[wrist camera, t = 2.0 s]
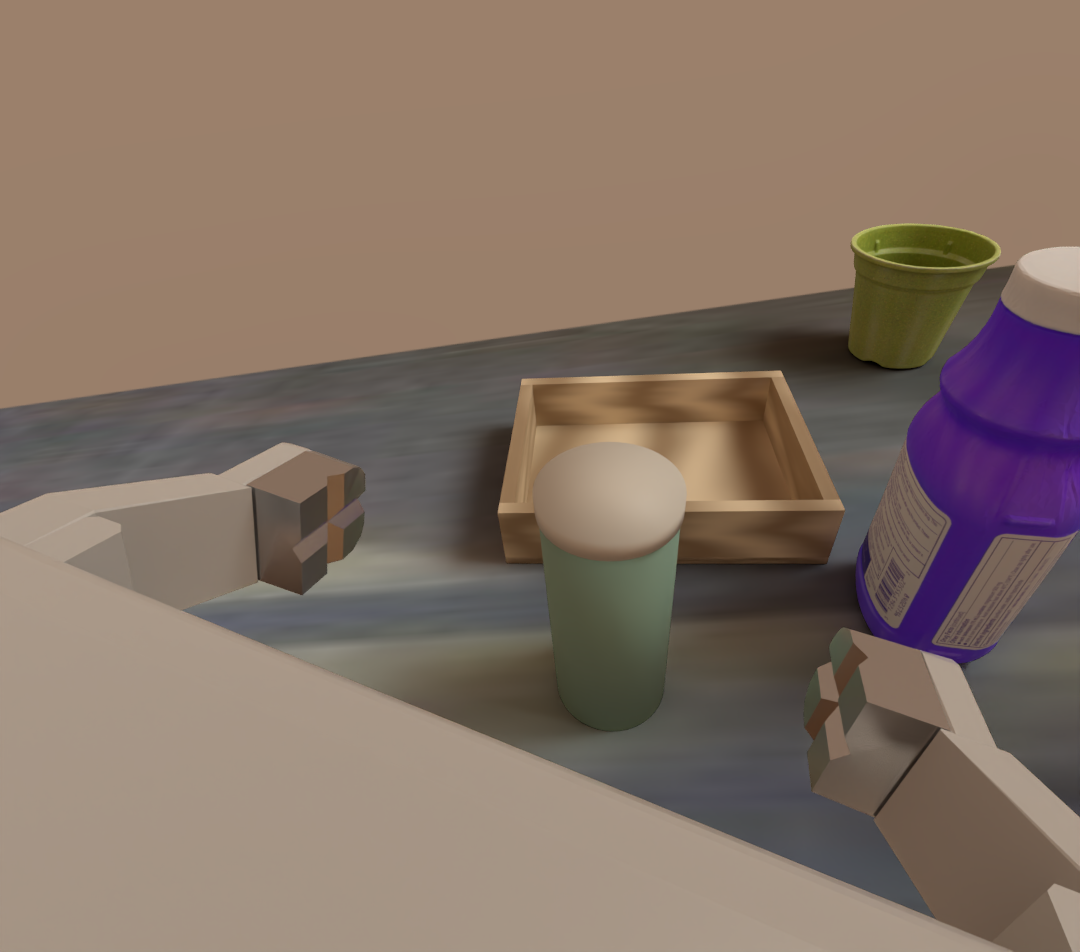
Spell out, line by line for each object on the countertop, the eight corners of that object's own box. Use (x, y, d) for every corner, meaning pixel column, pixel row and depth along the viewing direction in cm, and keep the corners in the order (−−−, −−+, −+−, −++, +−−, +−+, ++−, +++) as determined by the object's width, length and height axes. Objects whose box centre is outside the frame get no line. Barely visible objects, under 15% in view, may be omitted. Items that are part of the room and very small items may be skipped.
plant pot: (808, 329, 52) (831, 228, 46) (918, 321, 52) (955, 217, 46) (852, 386, 45) (886, 273, 39) (980, 376, 44) (1033, 261, 39)
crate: (770, 419, 42) (780, 370, 40) (826, 563, 32) (845, 510, 30) (527, 425, 44) (522, 378, 42) (506, 563, 34) (497, 513, 31)
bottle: (1004, 689, 26) (1298, 322, 15) (863, 668, 27) (1036, 316, 16) (956, 564, 31) (1145, 225, 20) (840, 552, 33) (957, 227, 21)
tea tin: (661, 633, 30) (678, 440, 22) (671, 735, 26) (696, 544, 18) (558, 632, 30) (538, 443, 22) (552, 731, 26) (525, 544, 18)
